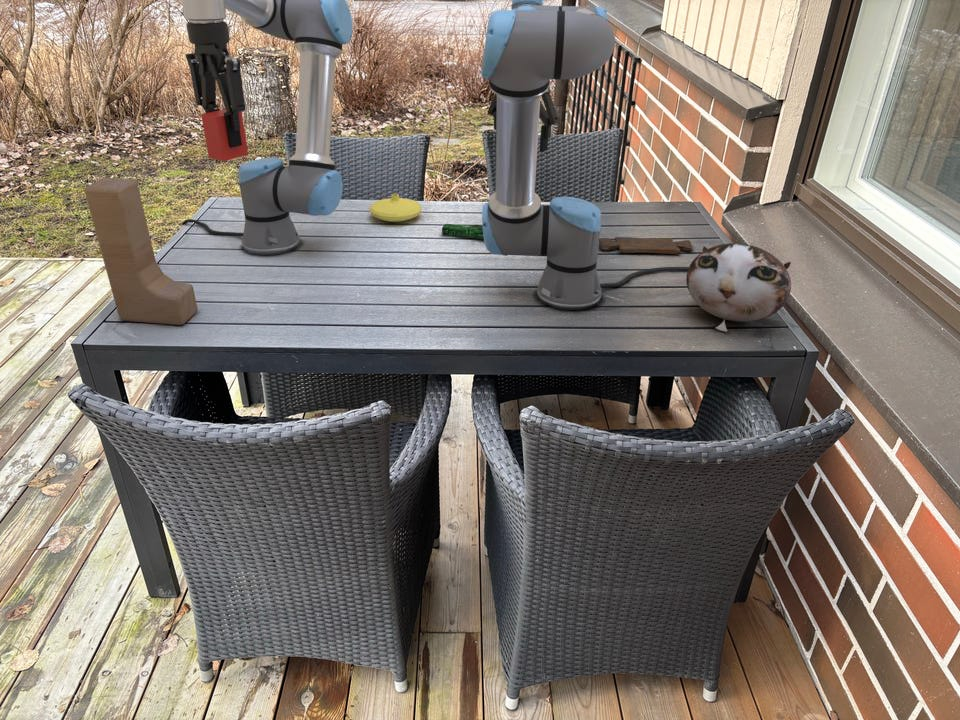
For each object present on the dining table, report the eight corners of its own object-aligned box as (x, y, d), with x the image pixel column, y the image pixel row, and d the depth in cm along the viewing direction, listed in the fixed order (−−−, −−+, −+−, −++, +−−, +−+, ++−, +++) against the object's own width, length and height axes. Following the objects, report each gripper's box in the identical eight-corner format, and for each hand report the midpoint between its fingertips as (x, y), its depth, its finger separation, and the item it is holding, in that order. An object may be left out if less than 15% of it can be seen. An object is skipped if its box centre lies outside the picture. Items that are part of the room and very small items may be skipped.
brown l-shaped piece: (183, 326, 156) (152, 191, 140) (118, 321, 157) (81, 187, 142) (199, 311, 162) (172, 180, 147) (137, 306, 164) (103, 176, 148)
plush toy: (664, 307, 155) (693, 222, 157) (679, 329, 171) (705, 252, 172) (770, 332, 145) (800, 241, 146) (775, 353, 160) (802, 271, 162)
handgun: (511, 219, 210) (493, 234, 198) (511, 228, 211) (492, 244, 199) (461, 212, 215) (440, 226, 203) (461, 221, 217) (440, 236, 204)
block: (248, 154, 151) (241, 111, 146) (223, 161, 146) (216, 117, 142) (233, 151, 153) (226, 108, 149) (208, 157, 149) (200, 114, 144)
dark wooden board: (696, 256, 194) (688, 243, 203) (697, 250, 194) (689, 237, 202) (601, 253, 195) (597, 240, 203) (602, 247, 194) (598, 234, 202)
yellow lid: (393, 205, 227) (392, 183, 223) (432, 216, 219) (432, 193, 215) (359, 219, 216) (357, 196, 212) (398, 230, 208) (397, 207, 204)
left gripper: (253, 22, 135) (270, 147, 147) (192, 16, 143) (213, 134, 155) (221, 25, 130) (241, 154, 142) (160, 19, 138) (184, 141, 150)
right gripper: (576, 64, 176) (569, 151, 187) (491, 55, 188) (489, 137, 199) (561, 68, 171) (555, 157, 182) (475, 58, 183) (474, 142, 193)
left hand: (226, 144), depth 149 cm, fingers closed on block, 5 cm apart
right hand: (521, 147), depth 190 cm, fingers open, 13 cm apart
